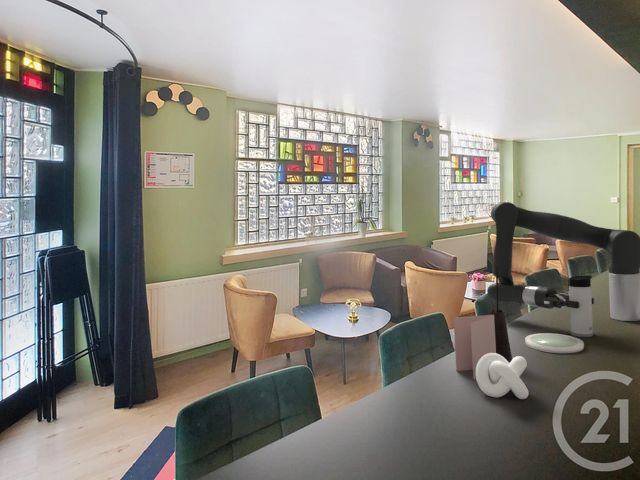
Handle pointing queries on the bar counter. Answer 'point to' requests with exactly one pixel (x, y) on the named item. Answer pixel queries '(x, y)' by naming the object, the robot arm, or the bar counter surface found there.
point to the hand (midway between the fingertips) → (586, 303)
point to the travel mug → (581, 306)
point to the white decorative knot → (501, 375)
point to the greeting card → (473, 340)
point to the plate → (554, 343)
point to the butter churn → (501, 329)
